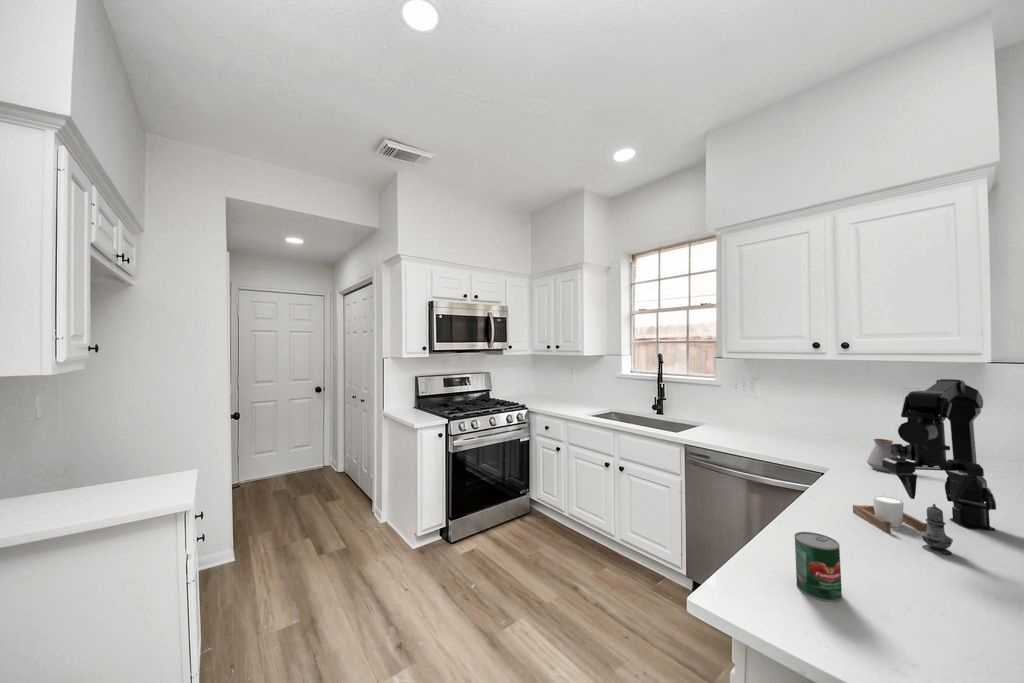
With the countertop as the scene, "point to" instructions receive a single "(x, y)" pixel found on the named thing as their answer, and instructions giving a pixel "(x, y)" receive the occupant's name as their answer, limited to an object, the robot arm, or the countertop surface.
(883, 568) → the countertop surface
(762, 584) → the countertop surface
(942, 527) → the salt shaker
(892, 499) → the white tapered cup
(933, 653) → the countertop surface
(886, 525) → the wooden stand
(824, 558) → the canned tomato
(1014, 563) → the countertop surface
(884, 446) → the coffee pot
